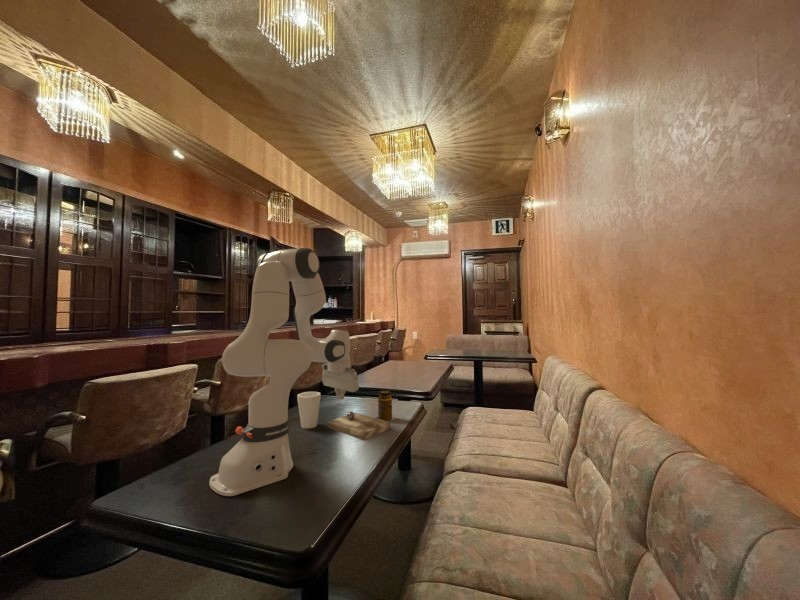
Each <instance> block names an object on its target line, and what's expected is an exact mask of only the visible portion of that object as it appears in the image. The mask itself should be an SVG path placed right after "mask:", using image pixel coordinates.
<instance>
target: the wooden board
mask: <svg viewBox="0 0 800 600" xmlns="http://www.w3.org/2000/svg"><path fill="white" fill-rule="evenodd" d="M353 413H354V414H355V416H354V418H353V419H352V420H349V419H348V418H347V414H346V415H344V416H339V417H337V418H335V419H332V420H328V421H327V428H328V429H330V430H332V431H333V430H334V431H337V432H339V433H342V434H345V435H348V436H351V437H354V438H355V439H359V440H362V441H365V440H367V439H369V438H372V437H374V436H376V435H379V434H381V433H384V432H386V431H388V430H390V429H392V428H391V421H388V422H387V421H384V420H380V419H377V417H372V416H369V415H365V414H362V413H358V412H353Z"/></svg>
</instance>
